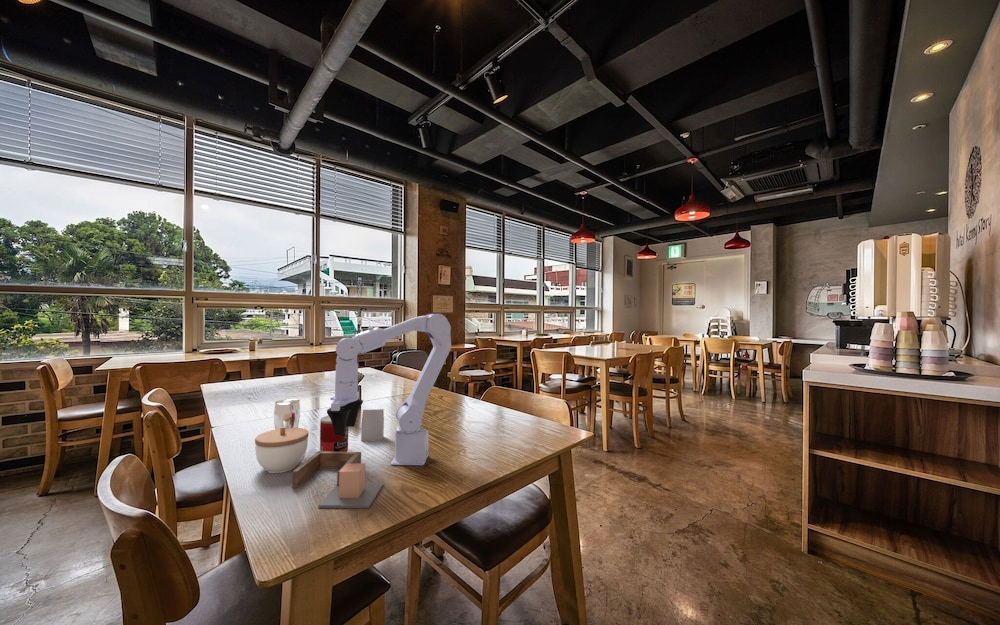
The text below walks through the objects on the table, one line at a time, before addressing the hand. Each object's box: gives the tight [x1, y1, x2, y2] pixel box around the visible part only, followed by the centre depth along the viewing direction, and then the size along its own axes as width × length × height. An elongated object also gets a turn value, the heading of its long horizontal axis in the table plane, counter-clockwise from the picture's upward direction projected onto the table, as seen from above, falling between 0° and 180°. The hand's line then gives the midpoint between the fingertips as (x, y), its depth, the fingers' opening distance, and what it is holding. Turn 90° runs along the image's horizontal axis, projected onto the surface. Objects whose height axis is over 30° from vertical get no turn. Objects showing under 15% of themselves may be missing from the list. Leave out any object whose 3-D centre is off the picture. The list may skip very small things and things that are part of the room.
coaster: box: [317, 481, 385, 509], centre depth 85 cm, size 11×11×1 cm
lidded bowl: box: [254, 427, 309, 474], centre depth 99 cm, size 13×13×11 cm
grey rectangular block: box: [360, 408, 385, 442], centre depth 124 cm, size 4×7×10 cm, turn 101°
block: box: [338, 463, 366, 498], centre depth 85 cm, size 4×4×6 cm
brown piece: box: [291, 450, 362, 489], centre depth 95 cm, size 12×13×4 cm
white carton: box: [273, 398, 301, 430], centre depth 112 cm, size 7×7×15 cm
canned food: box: [319, 415, 349, 452], centre depth 110 cm, size 8×8×11 cm
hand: (345, 430), depth 100 cm, fingers open, 7 cm apart
